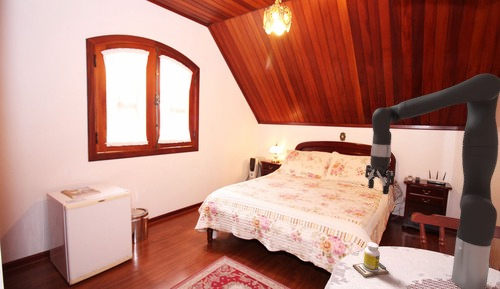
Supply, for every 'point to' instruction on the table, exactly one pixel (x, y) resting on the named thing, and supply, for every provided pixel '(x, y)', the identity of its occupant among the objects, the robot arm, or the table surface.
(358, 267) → the beige flat piece
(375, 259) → the supplement bottle
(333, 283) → the table surface
